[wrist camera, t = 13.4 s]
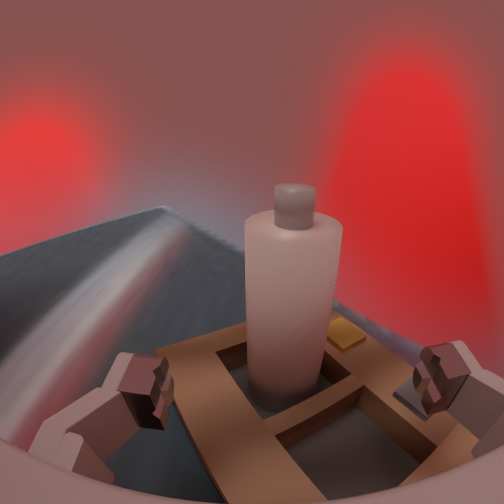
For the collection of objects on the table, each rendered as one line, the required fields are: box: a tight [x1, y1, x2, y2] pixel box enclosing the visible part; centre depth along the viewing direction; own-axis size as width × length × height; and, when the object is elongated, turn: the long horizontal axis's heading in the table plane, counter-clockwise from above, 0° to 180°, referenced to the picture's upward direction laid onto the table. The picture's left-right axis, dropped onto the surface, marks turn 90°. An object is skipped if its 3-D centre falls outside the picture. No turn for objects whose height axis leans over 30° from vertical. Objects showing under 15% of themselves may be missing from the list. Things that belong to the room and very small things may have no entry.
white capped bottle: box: [244, 183, 343, 413], centre depth 14 cm, size 4×4×12 cm
